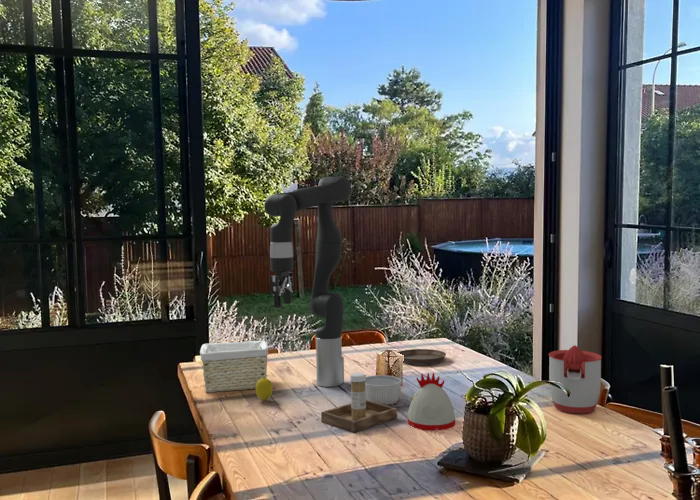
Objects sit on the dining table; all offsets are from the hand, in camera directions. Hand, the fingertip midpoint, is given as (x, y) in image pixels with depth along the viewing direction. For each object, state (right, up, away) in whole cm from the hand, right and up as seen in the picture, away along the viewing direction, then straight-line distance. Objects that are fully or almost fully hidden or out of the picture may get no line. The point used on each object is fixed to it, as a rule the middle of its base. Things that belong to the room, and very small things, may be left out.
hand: (282, 305), depth 213 cm
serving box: (+25, -33, -18) cm, 45 cm away
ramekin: (+32, -32, +2) cm, 45 cm away
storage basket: (-20, -31, +23) cm, 44 cm away
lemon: (-7, -32, +4) cm, 33 cm away
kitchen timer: (+46, -33, -21) cm, 60 cm away
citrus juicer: (+91, -32, -11) cm, 97 cm away
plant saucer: (+51, -28, +57) cm, 82 cm away
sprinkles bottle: (+25, -33, -18) cm, 44 cm away
